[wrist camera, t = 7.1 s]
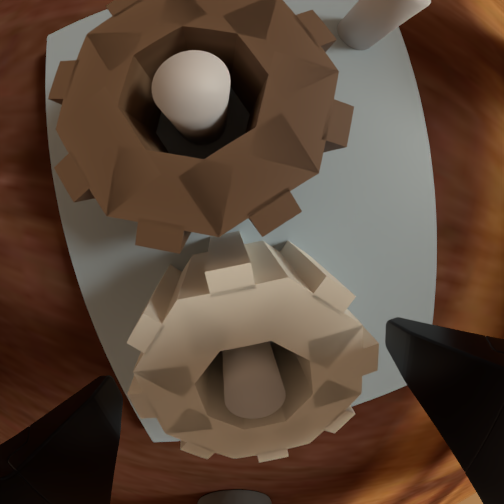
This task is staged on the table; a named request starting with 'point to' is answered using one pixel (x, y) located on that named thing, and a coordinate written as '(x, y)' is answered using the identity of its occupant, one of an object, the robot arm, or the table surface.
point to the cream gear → (244, 334)
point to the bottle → (235, 497)
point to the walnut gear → (148, 114)
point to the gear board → (306, 195)
